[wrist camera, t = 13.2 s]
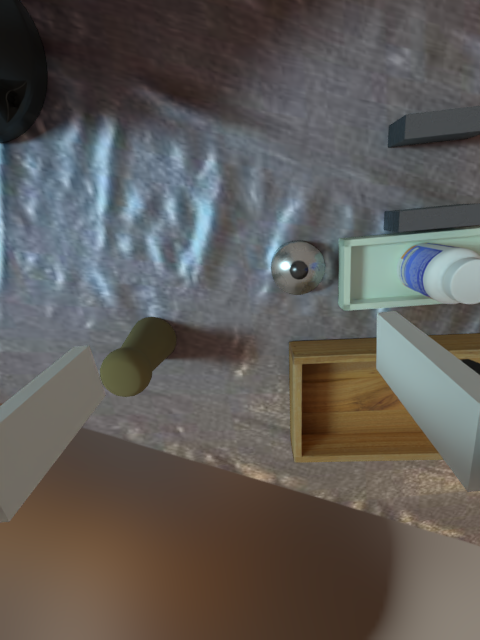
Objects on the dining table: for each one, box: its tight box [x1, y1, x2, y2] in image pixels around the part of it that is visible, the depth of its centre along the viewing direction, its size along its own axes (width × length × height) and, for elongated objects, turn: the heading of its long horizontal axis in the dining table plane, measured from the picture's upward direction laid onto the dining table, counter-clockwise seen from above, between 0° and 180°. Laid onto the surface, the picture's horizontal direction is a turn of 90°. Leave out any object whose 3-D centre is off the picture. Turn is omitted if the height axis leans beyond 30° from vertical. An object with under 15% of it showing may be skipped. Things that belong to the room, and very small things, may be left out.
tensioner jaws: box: [384, 106, 480, 232], centre depth 32 cm, size 10×8×4 cm
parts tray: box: [338, 226, 480, 311], centre depth 36 cm, size 8×18×2 cm, turn 96°
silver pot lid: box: [271, 241, 325, 295], centre depth 36 cm, size 6×6×3 cm
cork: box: [100, 317, 176, 397], centre depth 37 cm, size 6×6×11 cm
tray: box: [289, 333, 480, 462], centre depth 40 cm, size 31×15×6 cm, turn 94°
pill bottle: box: [397, 243, 480, 304], centre depth 32 cm, size 5×5×10 cm
